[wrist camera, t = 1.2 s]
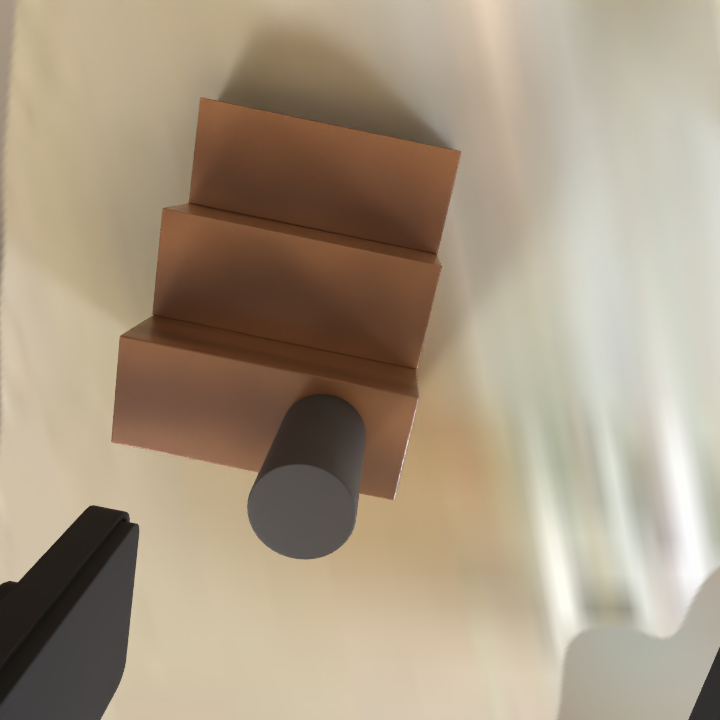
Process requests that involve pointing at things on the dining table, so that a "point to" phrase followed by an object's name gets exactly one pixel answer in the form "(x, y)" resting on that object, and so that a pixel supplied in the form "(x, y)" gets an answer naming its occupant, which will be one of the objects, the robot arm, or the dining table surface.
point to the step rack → (287, 290)
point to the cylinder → (310, 479)
